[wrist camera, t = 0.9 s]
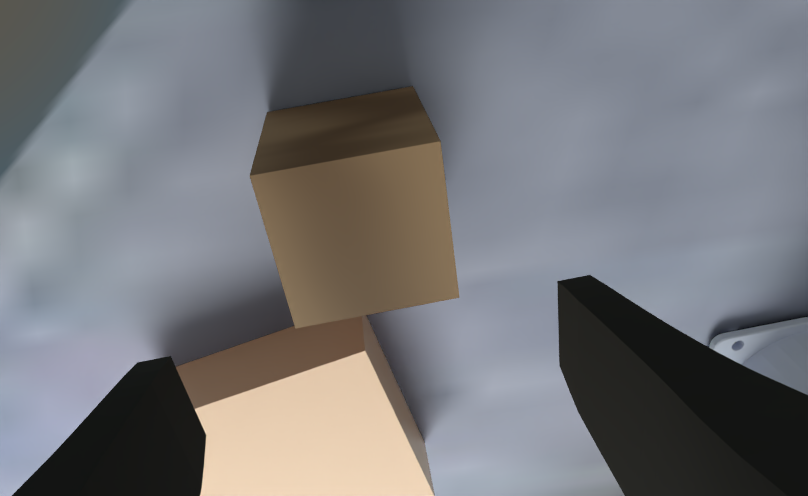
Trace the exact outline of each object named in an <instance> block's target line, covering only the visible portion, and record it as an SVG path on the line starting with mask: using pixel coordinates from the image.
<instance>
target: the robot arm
mask: <svg viewBox="0 0 808 496" xmlns="http://www.w3.org/2000/svg"><path fill="white" fill-rule="evenodd" d="M558 319H559V361H560V368H561V370H562V373H563V375H564V378H565V380H566V383H567V385H568V388H569V391H570V393H571V395H572V398H573V400H574V403H575V405H576V407H577V410H578V412H579V414H580V416H581V418H582V420H583V421H584V423H585V425H586V427H587V429H588V431H589V432H590V434H591V436H592V438H593V440H594V441H595V443H596V445H597V447H598V449H599V450H600V452H601V454H602V456H603V457H604V459H605V461H606V463H607V465H608V466H609V468H610V470H611V472H612V473H613V475H614V477H615V479H616V481H617V482H618V484H619V486H620V488H621V489H622V491H623V493H624V495H625V496H808V317H804V318H799V319H794V320H788V321H783V322H778V323H773V324H768V325H763V326H758V327H752V328H747V329H742V330H737V331H732V332H727V333H722V334H719V335H717V336H716V337H714V338H713V339H712V341H711V343H710V347H707V346H705V345H703V344H701V343H700V342H698V341H696V340H694V339H693V338H691V337H689V336H687V335H686V334H684V333H682V332H680V331H679V330H677V329H675V328H674V327H672V326H670V325H669V324H667V323H665V322H664V321H662V320H660V319H659V318H657V317H656V316H654V315H652V314H651V313H649V312H647V311H646V310H644V309H643V308H641V307H640V306H638V305H636V304H635V303H633V302H632V301H630V300H629V299H627V298H625V297H624V296H622V295H621V294H619V293H618V292H616V291H615V290H613V289H611V288H610V287H608V286H607V285H605V284H604V283H602V282H600V281H599V280H597V279H596V278H594V277H592V276H591V275H587V276H582V277H577V278H572V279H567V280H562V281H558ZM735 342H736V343H735ZM205 446H206V433H205V431H204V429H203V427H202V424H201V422H200V420H199V418H198V416H197V413H196V411H195V409H194V407H193V405H192V402H191V400H190V398H189V396H188V393H187V391H186V389H185V387H184V385H183V382H182V380H181V378H180V376H179V373H178V371H177V369H176V367H175V365H174V362H173V360H172V358H171V356H169V357H164V358H159V359H154V360H149V361H143V362H138V363H137V364H136V365H135V366H134V367H133V368H132V369H131V370H130V371H129V372H128V373H127V374H126V375H125V376H124V377H123V378H122V379H121V380H120V381H119V382H118V383H117V384H116V386H115V387H114V388H113V389H112V390H111V391H110V392H109V393H108V394H107V395H106V397H105V398H104V399H103V400H102V401H101V402H100V403H99V404H98V405H97V407H96V408H95V409H94V410H93V411H92V412H91V413H90V414H89V415H88V417H87V418H86V419H85V420H84V421H83V422H82V423H81V424H80V425H79V426H78V427H77V429H76V430H75V431H74V432H73V433H72V434H71V435H70V436H69V437H68V438H67V439H66V441H65V442H64V443H63V444H62V445H61V446H60V447H59V448H58V449H57V450H56V451H55V452H54V454H53V455H52V456H51V457H50V458H49V459H48V460H47V461H46V462H45V463H44V464H43V465H42V466H41V467H40V468H39V469H38V470H37V471H36V472H35V473H34V474H33V475H32V476H31V477H30V478H29V479H28V480H27V481H26V482H25V483H24V484H23V485H22V486H21V487H20V488H19V489H18V490H17V491H16V492H15V493H14V494H13V495H12V496H200V494H201V489H202V480H203V470H204V459H205Z"/></svg>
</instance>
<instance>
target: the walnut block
mask: <svg viewBox="0 0 808 496" xmlns="http://www.w3.org/2000/svg"><path fill="white" fill-rule="evenodd" d="M250 179H251V182H252V185H253V189H254V192H255V195H256V199H257V202H258V205H259V209H260V212H261V215H262V219H263V222H264V225H265V229H266V232H267V235H268V239H269V242H270V245H271V249H272V252H273V255H274V259H275V262H276V265H277V269H278V272H279V276H280V279H281V282H282V286H283V289H284V292H285V296H286V299H287V302H288V306H289V309H290V312H291V316H292V319H293V322H294V326H295V329H296V328H301V327H306V326H311V325H317V324H322V323H327V322H333V321H338V320H343V319H349V318H354V317H359V316H364V315H370V314H375V313H380V312H386V311H391V310H396V309H401V308H407V307H412V306H417V305H423V304H428V303H433V302H438V301H444V300H449V299H454V298H459V290H458V282H457V274H456V266H455V257H454V249H453V241H452V232H451V224H450V216H449V208H448V199H447V191H446V183H445V174H444V166H443V158H442V150H441V141H440V139H439V137H438V135H437V133H436V131H435V129H434V127H433V125H432V123H431V121H430V119H429V117H428V115H427V113H426V111H425V109H424V107H423V105H422V103H421V101H420V99H419V97H418V95H417V93H416V91H415V89H414V87H413V86H411V87H405V88H400V89H394V90H389V91H383V92H377V93H372V94H366V95H361V96H355V97H349V98H344V99H338V100H333V101H327V102H321V103H316V104H310V105H305V106H299V107H293V108H288V109H282V110H277V111H271V112H267V115H266V118H265V122H264V125H263V129H262V133H261V136H260V140H259V144H258V147H257V151H256V155H255V158H254V162H253V165H252V169H251V173H250Z"/></svg>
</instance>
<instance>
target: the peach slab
mask: <svg viewBox="0 0 808 496" xmlns="http://www.w3.org/2000/svg"><path fill="white" fill-rule="evenodd" d="M176 369H177V371H178V373H179V376H180V378H181V380H182V382H183V385H184V387H185V389H186V391H187V393H188V396H189V398H190V400H191V402H192V405H193V407H194V409H195V411H196V413H197V416H198V418H199V420H200V422H201V424H202V427H203V429H204V431H205V433H206V446H205V459H204V470H203V480H202V489H201V494H200V496H435V494H434V489H433V484H432V479H431V473H430V468H429V463H428V458H427V453H426V447H425V442H424V440H423V438H422V436H421V434H420V432H419V429H418V427H417V425H416V423H415V421H414V418H413V416H412V414H411V412H410V410H409V408H408V405H407V403H406V401H405V399H404V397H403V394H402V392H401V390H400V388H399V386H398V384H397V381H396V379H395V377H394V375H393V373H392V370H391V368H390V366H389V364H388V362H387V360H386V357H385V355H384V353H383V351H382V349H381V346H380V344H379V342H378V340H377V338H376V336H375V333H374V331H373V329H372V327H371V325H370V322H369V320H368V318H367V316H366V315H364V316H359V317H354V318H349V319H343V320H338V321H333V322H327V323H322V324H317V325H311V326H306V327H301V328H296V329H295V326H292V327H289V328H287V329H284V330H281V331H278V332H275V333H272V334H269V335H266V336H263V337H260V338H258V339H255V340H252V341H249V342H246V343H243V344H240V345H237V346H234V347H232V348H229V349H226V350H223V351H220V352H217V353H214V354H211V355H208V356H205V357H203V358H200V359H197V360H194V361H191V362H188V363H185V364H182V365H179V366H177V367H176Z"/></svg>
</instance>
